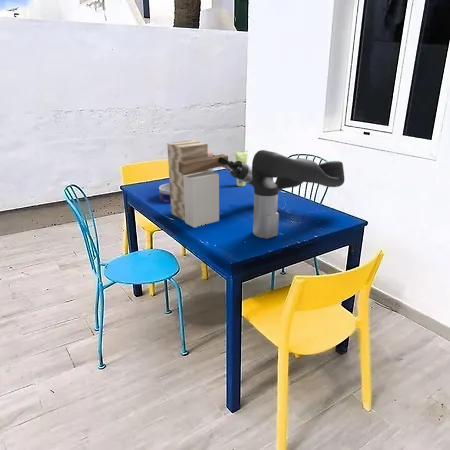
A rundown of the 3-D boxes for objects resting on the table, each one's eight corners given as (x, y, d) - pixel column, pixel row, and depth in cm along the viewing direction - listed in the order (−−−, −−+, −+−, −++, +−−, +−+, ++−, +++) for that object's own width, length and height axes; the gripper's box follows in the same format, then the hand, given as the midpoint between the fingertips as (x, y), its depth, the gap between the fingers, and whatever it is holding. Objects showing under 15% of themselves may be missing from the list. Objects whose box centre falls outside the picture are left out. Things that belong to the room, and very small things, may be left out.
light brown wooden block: (228, 165, 166) (228, 155, 164) (184, 173, 154) (183, 163, 152) (222, 163, 169) (222, 154, 167) (178, 171, 157) (178, 162, 155)
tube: (239, 183, 224) (239, 149, 216) (247, 184, 221) (248, 150, 214) (235, 186, 219) (235, 151, 212) (243, 187, 217) (243, 152, 209)
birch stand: (208, 214, 177) (207, 144, 165) (185, 221, 170) (182, 147, 158) (194, 207, 186) (192, 140, 174) (171, 213, 179) (167, 143, 167)
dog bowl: (193, 200, 196) (193, 189, 194) (163, 204, 191) (162, 192, 189) (184, 192, 209) (184, 181, 207) (156, 195, 204) (155, 184, 202)
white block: (219, 220, 170) (218, 173, 162) (194, 227, 163) (192, 179, 155) (209, 216, 176) (209, 170, 168) (185, 222, 168) (183, 175, 160)
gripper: (250, 183, 170) (222, 169, 158) (229, 176, 180) (202, 163, 169) (256, 167, 170) (229, 152, 158) (236, 161, 180) (209, 147, 168)
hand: (215, 158), depth 163 cm, fingers closed on light brown wooden block, 4 cm apart
